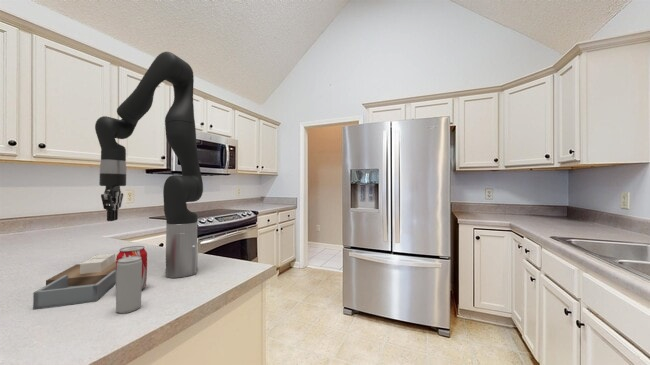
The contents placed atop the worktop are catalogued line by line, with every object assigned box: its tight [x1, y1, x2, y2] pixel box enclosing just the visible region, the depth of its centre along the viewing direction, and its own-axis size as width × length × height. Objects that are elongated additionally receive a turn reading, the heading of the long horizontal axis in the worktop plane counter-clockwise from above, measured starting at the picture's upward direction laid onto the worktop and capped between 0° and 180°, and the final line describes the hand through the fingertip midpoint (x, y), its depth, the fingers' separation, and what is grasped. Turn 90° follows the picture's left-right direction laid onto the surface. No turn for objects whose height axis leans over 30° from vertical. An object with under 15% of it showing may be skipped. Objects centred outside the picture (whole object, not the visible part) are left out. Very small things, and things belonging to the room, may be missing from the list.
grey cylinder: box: [115, 256, 142, 314], centre depth 61 cm, size 5×5×12 cm
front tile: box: [80, 258, 108, 274], centre depth 80 cm, size 5×5×3 cm
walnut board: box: [45, 260, 116, 287], centre depth 82 cm, size 16×16×3 cm
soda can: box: [115, 245, 148, 291], centre depth 72 cm, size 7×7×12 cm
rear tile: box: [89, 253, 116, 266], centre depth 86 cm, size 5×5×3 cm
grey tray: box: [32, 270, 116, 310], centre depth 69 cm, size 12×13×4 cm
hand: (112, 220), depth 93 cm, fingers closed
